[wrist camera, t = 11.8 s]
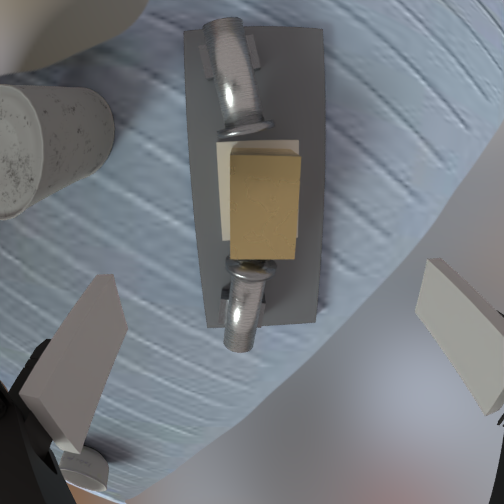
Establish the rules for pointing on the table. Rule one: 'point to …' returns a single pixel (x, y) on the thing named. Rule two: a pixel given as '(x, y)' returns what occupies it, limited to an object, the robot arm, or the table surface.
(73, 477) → the teacup
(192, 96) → the board
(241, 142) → the off-white flat plate
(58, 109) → the speckled tin can
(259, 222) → the coupler
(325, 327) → the table surface
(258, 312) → the shaft
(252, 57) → the shaft
